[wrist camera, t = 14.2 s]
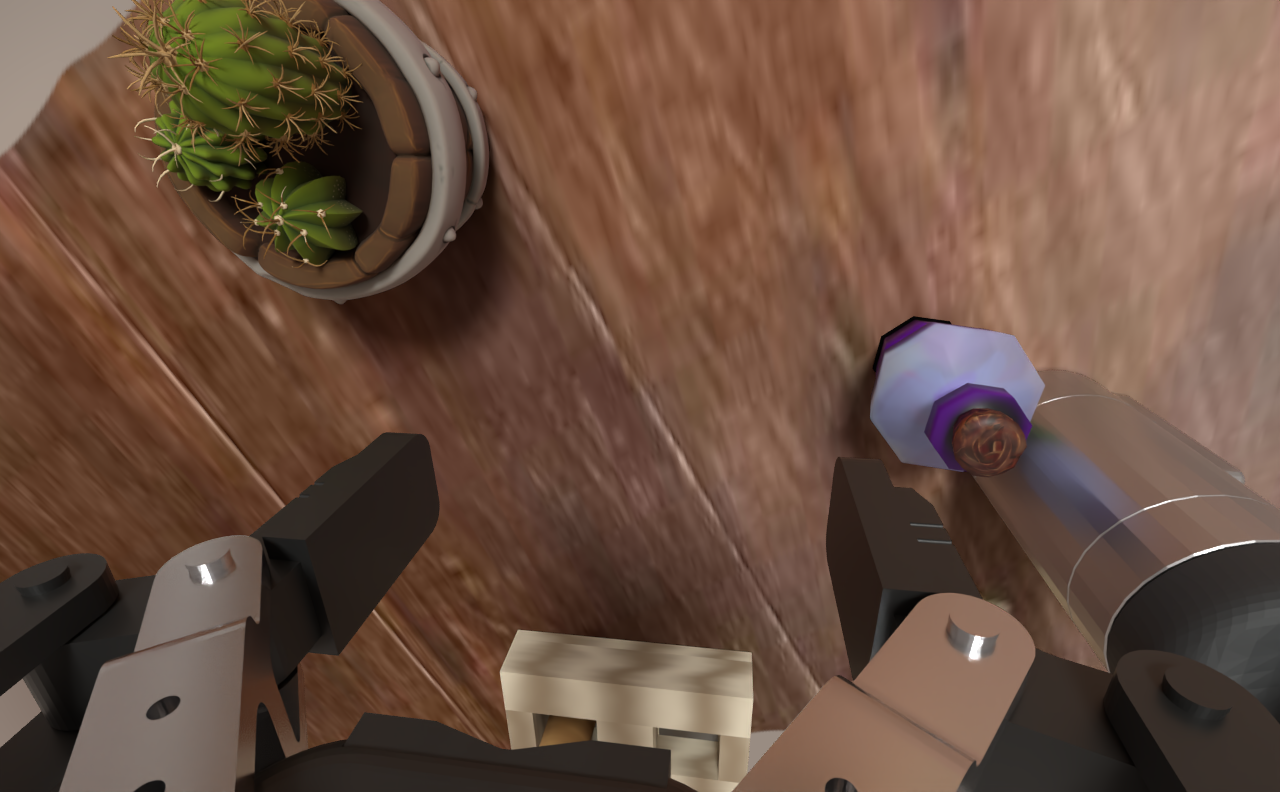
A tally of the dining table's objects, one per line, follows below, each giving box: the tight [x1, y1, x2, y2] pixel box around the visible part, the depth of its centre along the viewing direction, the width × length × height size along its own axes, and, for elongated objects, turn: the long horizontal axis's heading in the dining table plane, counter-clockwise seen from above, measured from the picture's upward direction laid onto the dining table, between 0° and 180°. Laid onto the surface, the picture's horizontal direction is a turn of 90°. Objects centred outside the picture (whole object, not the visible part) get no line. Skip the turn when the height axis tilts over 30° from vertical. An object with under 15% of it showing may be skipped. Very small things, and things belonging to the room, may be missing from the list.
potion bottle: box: [870, 316, 1045, 477], centre depth 33 cm, size 9×9×12 cm
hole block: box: [500, 630, 753, 792], centre depth 52 cm, size 20×14×4 cm
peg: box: [539, 715, 596, 746], centre depth 48 cm, size 4×4×12 cm
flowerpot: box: [108, 0, 489, 304], centre depth 28 cm, size 14×15×20 cm
